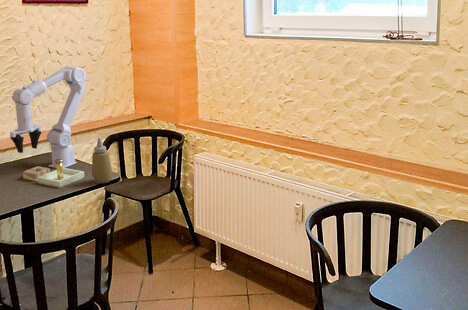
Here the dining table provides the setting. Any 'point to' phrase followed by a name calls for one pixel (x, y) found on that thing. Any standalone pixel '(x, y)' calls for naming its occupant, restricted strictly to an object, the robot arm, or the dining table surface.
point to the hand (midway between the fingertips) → (27, 150)
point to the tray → (69, 178)
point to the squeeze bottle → (101, 164)
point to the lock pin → (59, 169)
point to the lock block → (35, 173)
